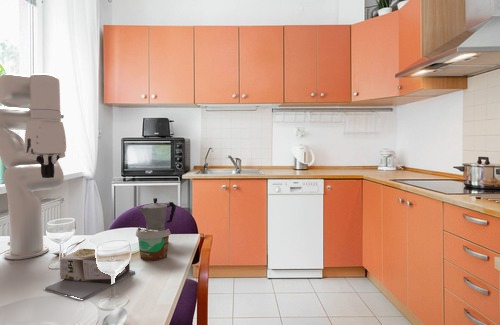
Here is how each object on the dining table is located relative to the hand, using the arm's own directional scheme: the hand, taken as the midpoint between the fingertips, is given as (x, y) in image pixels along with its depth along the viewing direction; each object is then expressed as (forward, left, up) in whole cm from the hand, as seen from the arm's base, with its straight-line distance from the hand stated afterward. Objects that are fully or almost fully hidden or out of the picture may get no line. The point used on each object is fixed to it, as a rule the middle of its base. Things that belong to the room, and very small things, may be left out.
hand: (47, 177), depth 94 cm
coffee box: (+9, 0, -25) cm, 27 cm away
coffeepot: (+13, +34, -29) cm, 47 cm away
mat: (+18, 0, -29) cm, 34 cm away
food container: (+21, +20, -29) cm, 41 cm away
